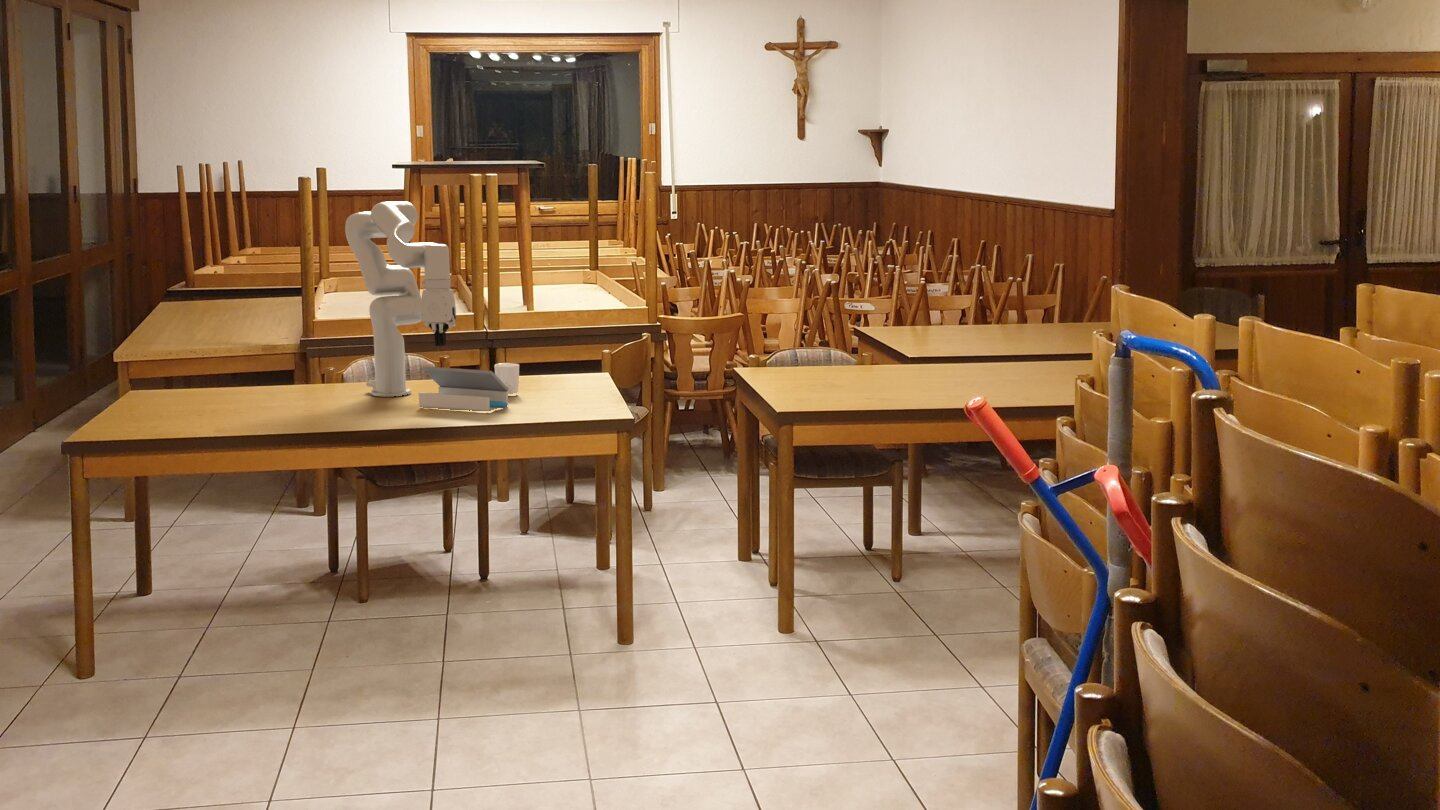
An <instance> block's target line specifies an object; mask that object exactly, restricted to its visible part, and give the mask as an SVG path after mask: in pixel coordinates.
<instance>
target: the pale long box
mask: <svg viewBox="0 0 1440 810" xmlns="http://www.w3.org/2000/svg"><path fill="white" fill-rule="evenodd" d="M489 400H491V401H504V402H506V403H507V405H508V406H509V397H508V391H494V390H480V389H466V388H453V387H440V386H438V392H423V391H419V392H418V408H419V407H423V408H438V409H450V410H469V411H470V410H472V411H491V410H494V409H497V407H490V403H489Z"/></svg>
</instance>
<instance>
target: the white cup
mask: <svg viewBox="0 0 1440 810" xmlns="http://www.w3.org/2000/svg"><path fill="white" fill-rule="evenodd" d="M493 367H494V374H495V375H496V376H497V377H498V378H499V379H500V380H501V381H502V382H503V383H504V384H505V385H506V386H507V387H508V388H509V389H508V394H513V393H517V392H518V393H519V387H520V386H519V383H520V381H519V379H520V364H519V363H513V362H502V363H495V364H494V366H493Z"/></svg>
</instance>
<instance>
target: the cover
mask: <svg viewBox="0 0 1440 810" xmlns="http://www.w3.org/2000/svg"><path fill="white" fill-rule="evenodd" d="M421 370H422V371H423V372H424V373H425V374H426V375H428V377H430V378H431V379H432V381H433V382H435V383H436V384H437V385H438V387H453V388H466V389H480V390H494V391H508V389H509V388H508V387H507V386H506V385H505V384H504V383H503V382H502V381H501V380H500V379H499V378H498V377H497V376H496V375H495V372H493V371H492V370H483V369H482V370H481V369H471V368H470V369H469V368H468V369H466V368H454V367H440V366H437V367H436V366H424V365H422V368H421Z"/></svg>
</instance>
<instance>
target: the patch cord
mask: <svg viewBox="0 0 1440 810" xmlns="http://www.w3.org/2000/svg"><path fill="white" fill-rule="evenodd" d="M489 403H490V407H497V408H505V409H507V408H506V407H507V403H506V402H504V401H491V400H489Z"/></svg>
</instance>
